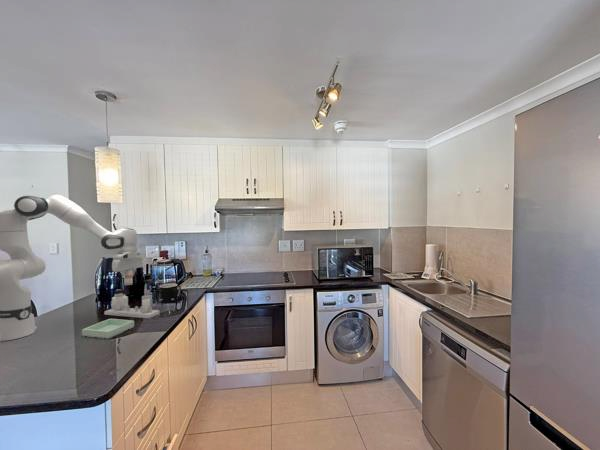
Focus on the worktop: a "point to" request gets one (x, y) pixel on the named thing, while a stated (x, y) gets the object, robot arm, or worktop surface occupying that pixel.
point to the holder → (132, 312)
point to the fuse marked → (128, 277)
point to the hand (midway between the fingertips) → (128, 276)
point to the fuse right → (145, 303)
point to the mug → (168, 293)
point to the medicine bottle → (125, 298)
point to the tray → (108, 328)
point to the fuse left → (118, 301)
